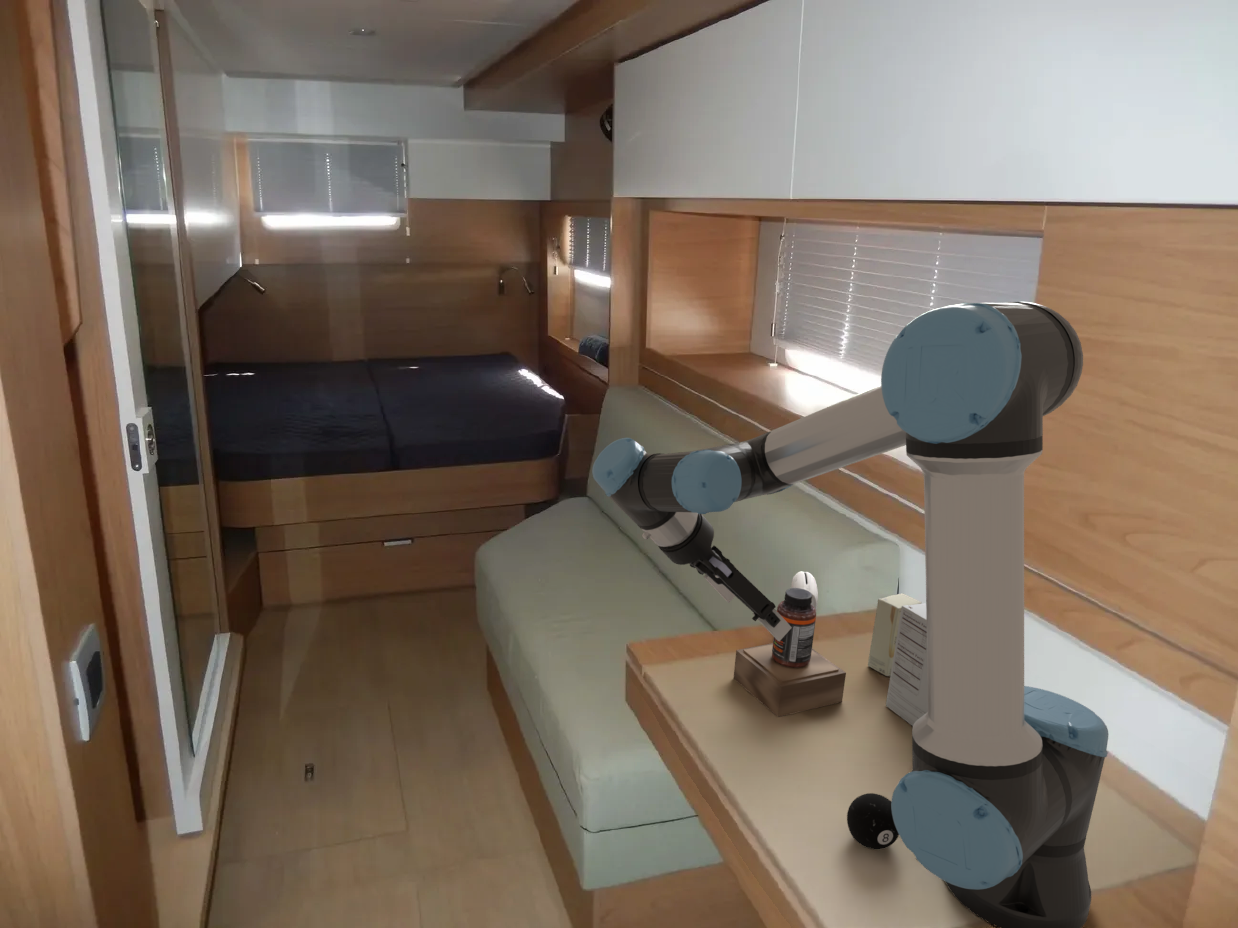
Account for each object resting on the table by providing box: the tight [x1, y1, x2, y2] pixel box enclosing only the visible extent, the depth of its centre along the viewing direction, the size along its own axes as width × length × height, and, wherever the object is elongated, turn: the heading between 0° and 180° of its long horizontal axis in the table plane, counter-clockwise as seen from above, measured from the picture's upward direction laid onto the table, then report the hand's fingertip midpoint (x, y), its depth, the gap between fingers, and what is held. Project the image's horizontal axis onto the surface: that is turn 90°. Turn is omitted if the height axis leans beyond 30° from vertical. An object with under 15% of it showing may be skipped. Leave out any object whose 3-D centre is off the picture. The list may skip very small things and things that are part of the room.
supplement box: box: [885, 602, 928, 727], centre depth 132 cm, size 10×9×17 cm
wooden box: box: [733, 642, 847, 717], centre depth 138 cm, size 12×12×5 cm
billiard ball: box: [846, 792, 900, 851], centre depth 105 cm, size 6×6×6 cm
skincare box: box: [867, 592, 923, 677], centre depth 147 cm, size 6×4×12 cm
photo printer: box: [790, 570, 819, 611], centre depth 154 cm, size 10×4×12 cm, turn 171°
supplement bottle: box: [772, 587, 817, 668], centre depth 136 cm, size 6×6×11 cm
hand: (757, 613), depth 133 cm, fingers open, 13 cm apart
